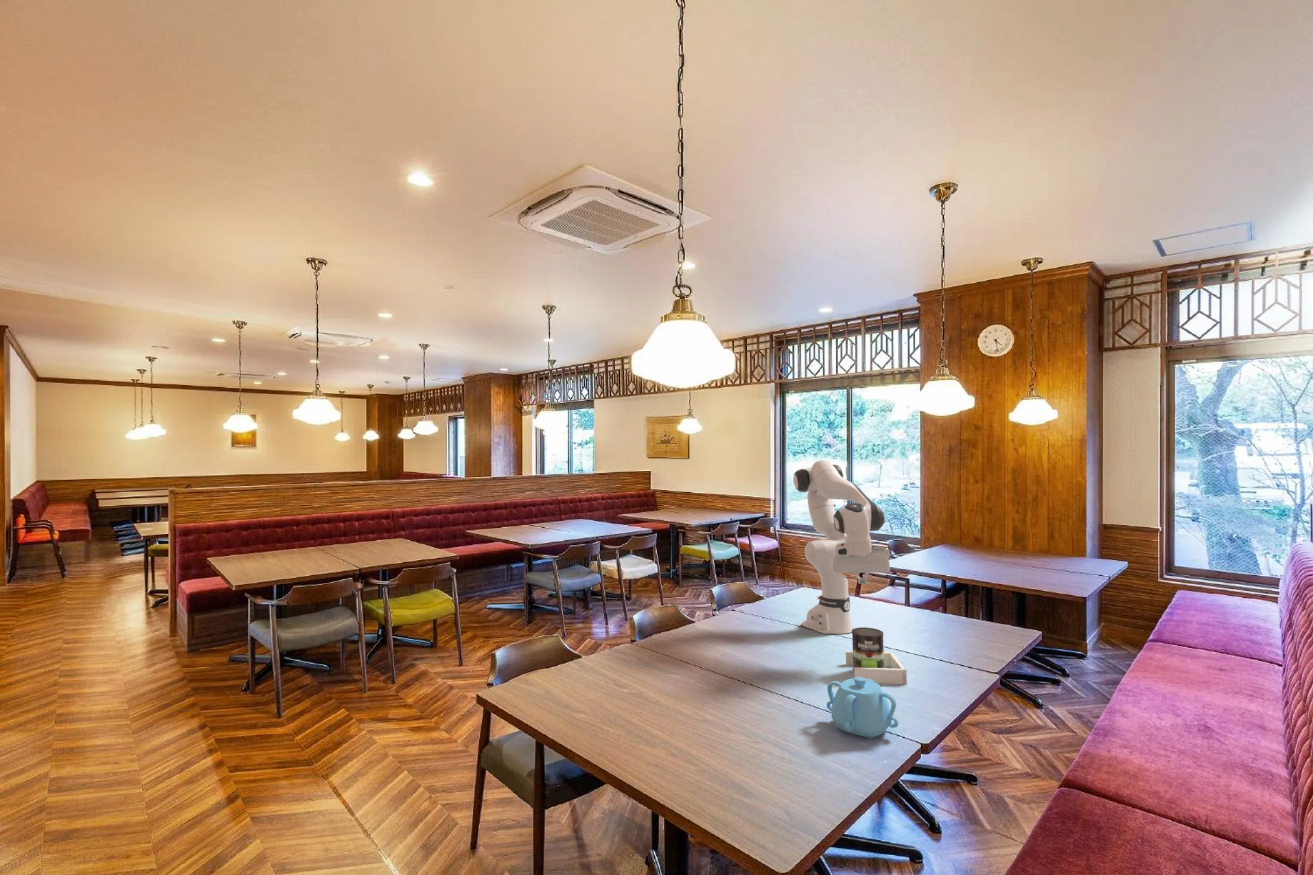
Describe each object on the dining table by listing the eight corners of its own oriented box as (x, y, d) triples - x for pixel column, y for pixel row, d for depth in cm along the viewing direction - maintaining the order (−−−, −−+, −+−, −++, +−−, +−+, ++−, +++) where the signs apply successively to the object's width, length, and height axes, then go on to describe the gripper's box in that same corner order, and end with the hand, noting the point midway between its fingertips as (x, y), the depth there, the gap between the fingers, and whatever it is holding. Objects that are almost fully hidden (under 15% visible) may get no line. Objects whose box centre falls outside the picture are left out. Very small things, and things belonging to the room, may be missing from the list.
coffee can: (886, 679, 190) (884, 636, 191) (853, 676, 193) (852, 634, 194) (883, 668, 200) (882, 627, 201) (852, 666, 203) (851, 626, 204)
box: (855, 682, 189) (854, 668, 189) (845, 663, 206) (845, 651, 206) (906, 684, 186) (906, 670, 186) (893, 665, 203) (892, 652, 204)
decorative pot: (824, 715, 165) (822, 668, 166) (880, 714, 165) (877, 666, 165) (840, 743, 149) (838, 690, 149) (903, 742, 148) (900, 689, 149)
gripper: (888, 544, 212) (892, 579, 213) (831, 545, 219) (835, 580, 220) (889, 549, 206) (893, 586, 207) (830, 550, 213) (834, 586, 214)
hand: (862, 583), depth 214 cm, fingers closed
